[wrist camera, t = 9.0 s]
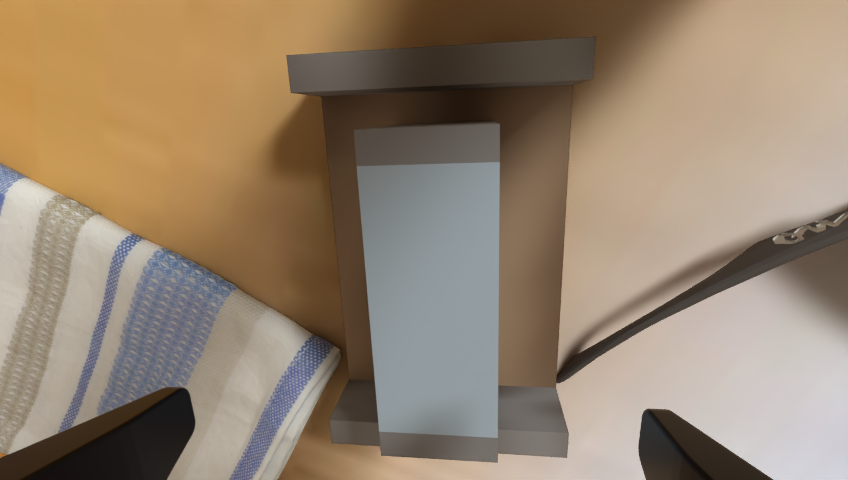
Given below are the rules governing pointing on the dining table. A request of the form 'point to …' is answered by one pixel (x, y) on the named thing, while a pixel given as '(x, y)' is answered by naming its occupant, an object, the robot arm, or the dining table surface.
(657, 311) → the sunglasses
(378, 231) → the light blue rectangular block
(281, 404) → the dish towel
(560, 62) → the cradle
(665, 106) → the dining table surface
